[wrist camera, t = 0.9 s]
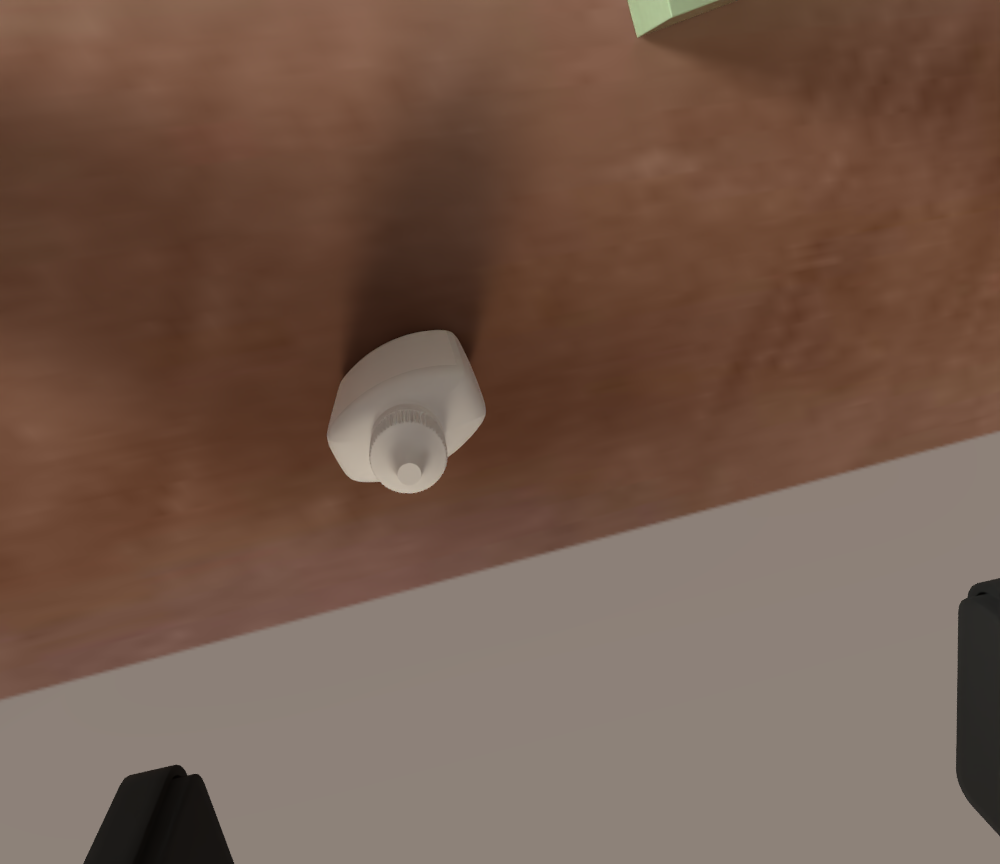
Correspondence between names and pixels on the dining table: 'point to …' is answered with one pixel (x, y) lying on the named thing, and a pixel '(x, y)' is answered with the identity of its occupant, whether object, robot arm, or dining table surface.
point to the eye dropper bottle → (405, 411)
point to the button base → (667, 12)
